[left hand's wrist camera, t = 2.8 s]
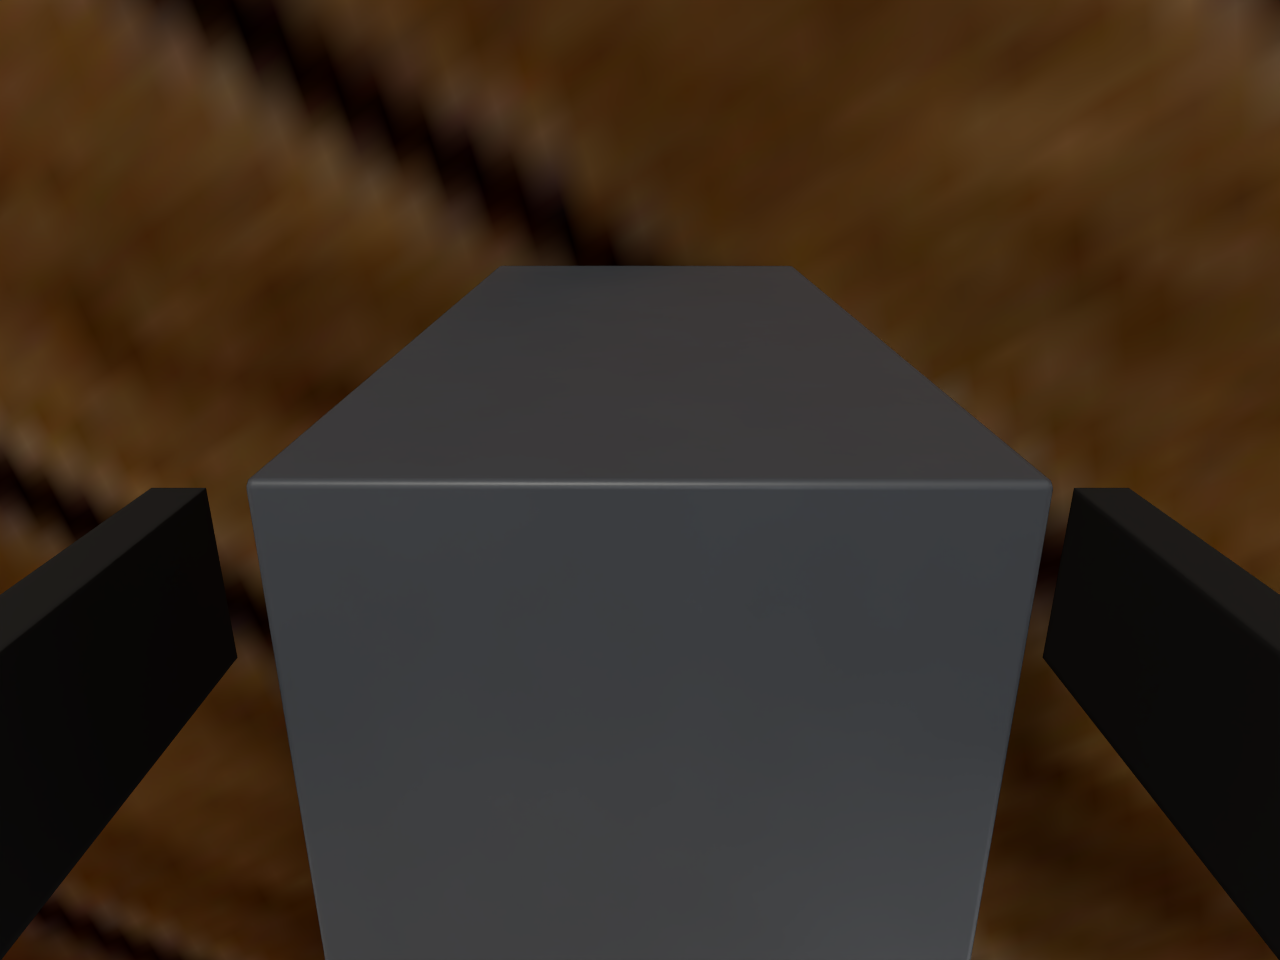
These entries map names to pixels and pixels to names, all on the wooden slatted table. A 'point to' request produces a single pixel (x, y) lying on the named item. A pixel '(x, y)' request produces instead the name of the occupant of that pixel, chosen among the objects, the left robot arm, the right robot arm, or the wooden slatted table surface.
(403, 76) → the wooden slatted table surface
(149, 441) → the wooden slatted table surface
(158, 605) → the left robot arm
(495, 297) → the bar
